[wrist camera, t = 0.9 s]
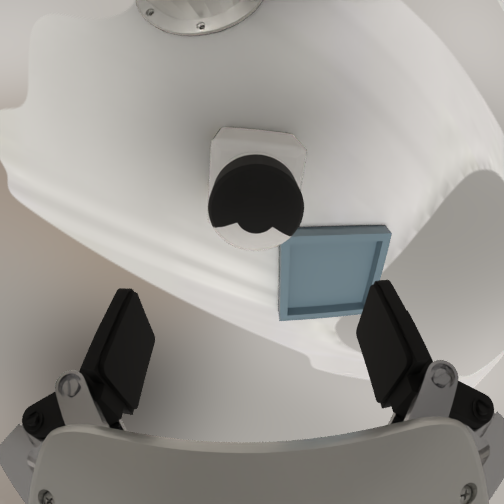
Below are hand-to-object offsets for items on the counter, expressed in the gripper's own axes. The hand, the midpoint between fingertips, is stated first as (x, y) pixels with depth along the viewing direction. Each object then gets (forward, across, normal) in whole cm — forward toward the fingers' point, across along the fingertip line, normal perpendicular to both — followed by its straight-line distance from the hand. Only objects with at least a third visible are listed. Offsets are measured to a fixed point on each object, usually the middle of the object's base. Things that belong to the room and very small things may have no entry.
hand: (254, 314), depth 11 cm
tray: (+20, -9, +13) cm, 25 cm away
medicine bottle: (+20, 0, -1) cm, 20 cm away
